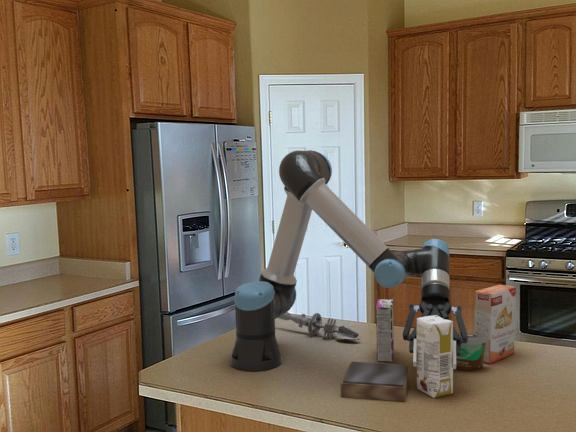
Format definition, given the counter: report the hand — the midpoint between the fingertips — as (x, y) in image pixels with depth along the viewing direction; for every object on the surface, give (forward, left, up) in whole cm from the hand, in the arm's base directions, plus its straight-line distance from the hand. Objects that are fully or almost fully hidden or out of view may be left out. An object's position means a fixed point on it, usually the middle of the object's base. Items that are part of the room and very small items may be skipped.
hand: (434, 365), depth 153 cm
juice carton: (0, +3, -8) cm, 8 cm away
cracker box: (+17, +34, -8) cm, 39 cm away
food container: (+8, +22, -8) cm, 24 cm away
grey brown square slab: (-15, +3, -8) cm, 17 cm away
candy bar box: (-15, +29, -8) cm, 33 cm away
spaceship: (-41, +46, -8) cm, 62 cm away
